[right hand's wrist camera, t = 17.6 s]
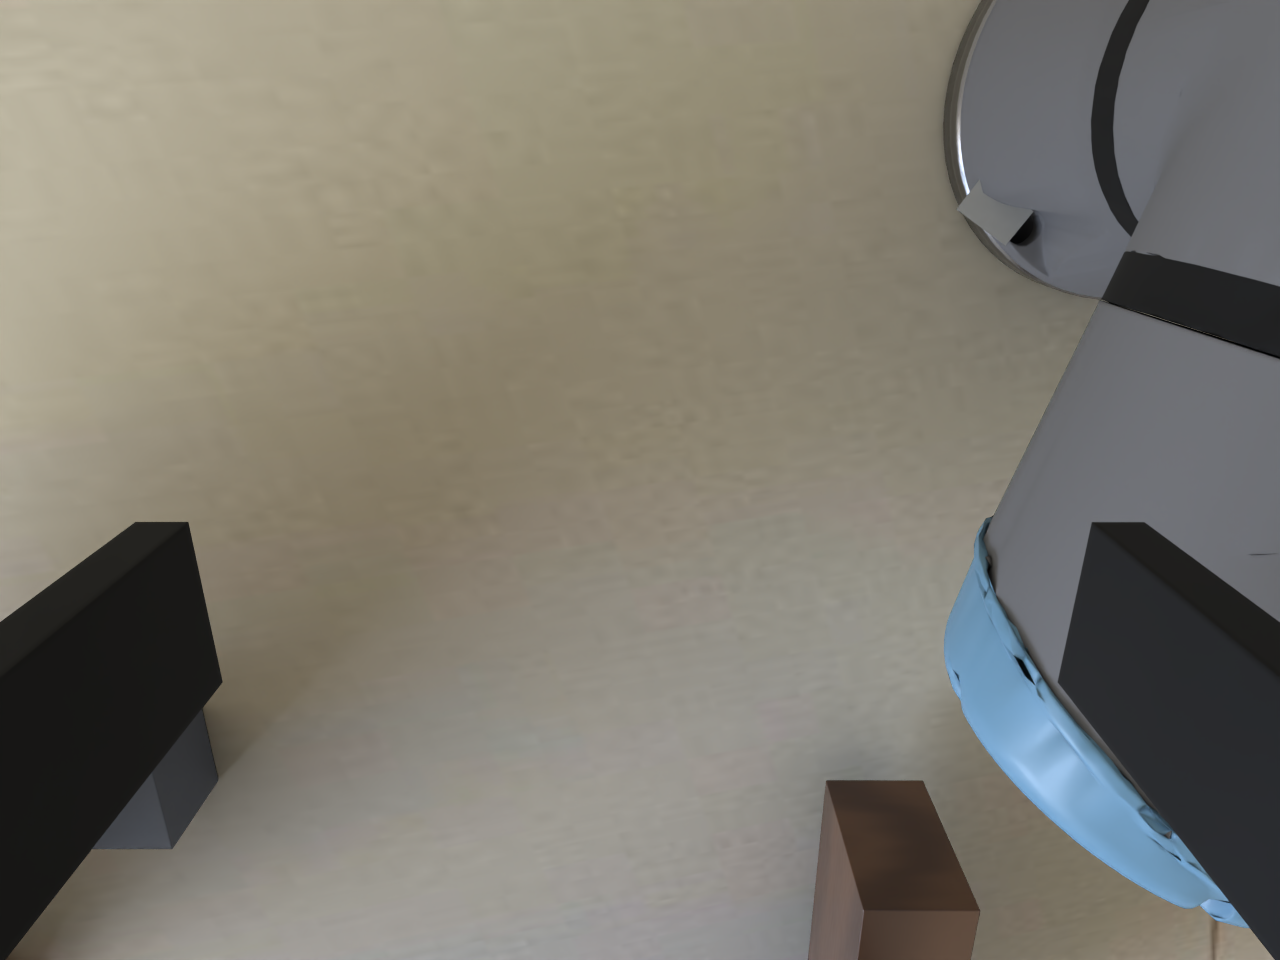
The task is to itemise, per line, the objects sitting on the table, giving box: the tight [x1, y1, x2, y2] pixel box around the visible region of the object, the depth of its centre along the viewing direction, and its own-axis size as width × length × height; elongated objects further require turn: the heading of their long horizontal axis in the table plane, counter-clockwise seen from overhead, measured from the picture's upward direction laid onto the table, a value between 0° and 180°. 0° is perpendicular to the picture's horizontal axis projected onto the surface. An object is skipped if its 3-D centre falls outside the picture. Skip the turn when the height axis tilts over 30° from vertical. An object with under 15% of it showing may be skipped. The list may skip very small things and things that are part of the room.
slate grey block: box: [92, 709, 218, 849], centre depth 44 cm, size 5×5×5 cm
